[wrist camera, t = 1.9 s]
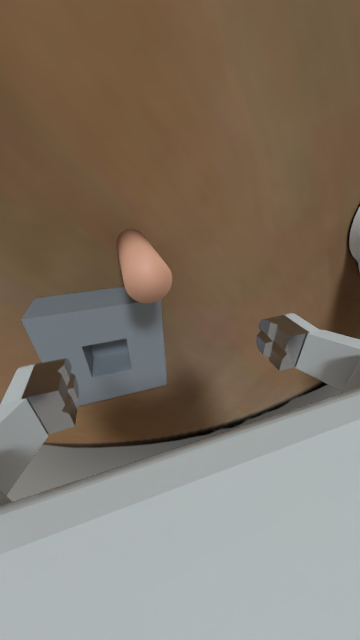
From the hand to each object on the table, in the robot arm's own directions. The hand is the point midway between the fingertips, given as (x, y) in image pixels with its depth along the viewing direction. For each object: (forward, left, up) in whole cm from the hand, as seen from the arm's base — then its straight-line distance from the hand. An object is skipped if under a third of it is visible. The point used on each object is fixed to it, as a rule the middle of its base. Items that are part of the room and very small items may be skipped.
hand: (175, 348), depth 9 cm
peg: (0, 0, -20) cm, 20 cm away
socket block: (+5, +12, -20) cm, 24 cm away
